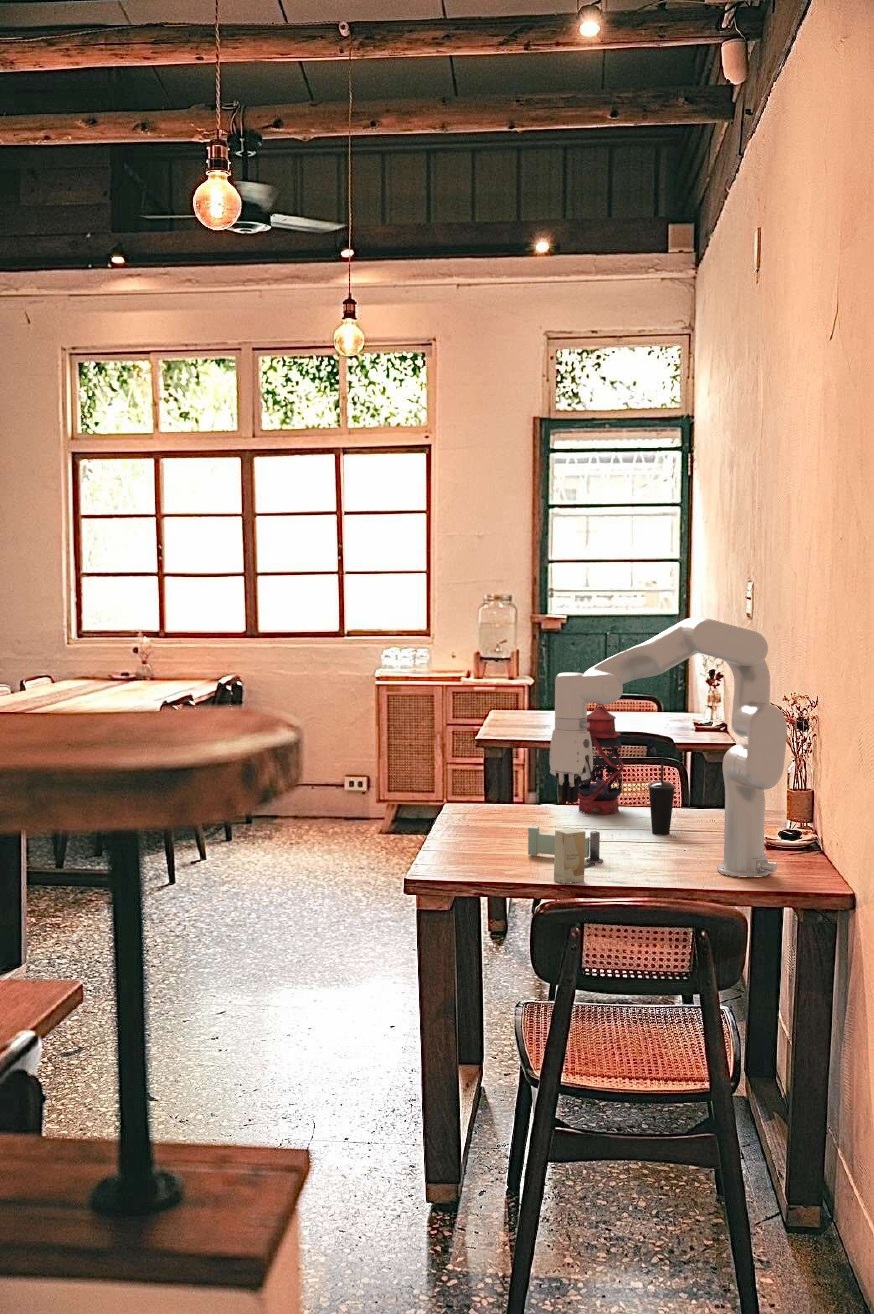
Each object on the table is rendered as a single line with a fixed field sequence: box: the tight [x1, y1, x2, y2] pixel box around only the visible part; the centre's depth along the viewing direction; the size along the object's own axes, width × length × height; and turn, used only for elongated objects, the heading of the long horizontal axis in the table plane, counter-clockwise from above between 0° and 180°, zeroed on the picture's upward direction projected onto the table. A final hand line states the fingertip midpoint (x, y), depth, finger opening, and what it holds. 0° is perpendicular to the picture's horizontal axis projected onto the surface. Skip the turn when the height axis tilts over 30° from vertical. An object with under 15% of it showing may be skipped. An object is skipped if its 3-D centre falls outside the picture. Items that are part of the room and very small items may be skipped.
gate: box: [527, 825, 590, 859], centre depth 312 cm, size 16×2×7 cm, turn 69°
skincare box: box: [553, 828, 586, 885], centre depth 289 cm, size 6×4×12 cm
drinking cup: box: [647, 762, 677, 836], centre depth 342 cm, size 8×8×20 cm
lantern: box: [578, 703, 625, 816], centre depth 372 cm, size 16×15×45 cm
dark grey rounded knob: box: [585, 830, 604, 864], centre depth 308 cm, size 4×4×8 cm
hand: (569, 801), depth 288 cm, fingers closed
